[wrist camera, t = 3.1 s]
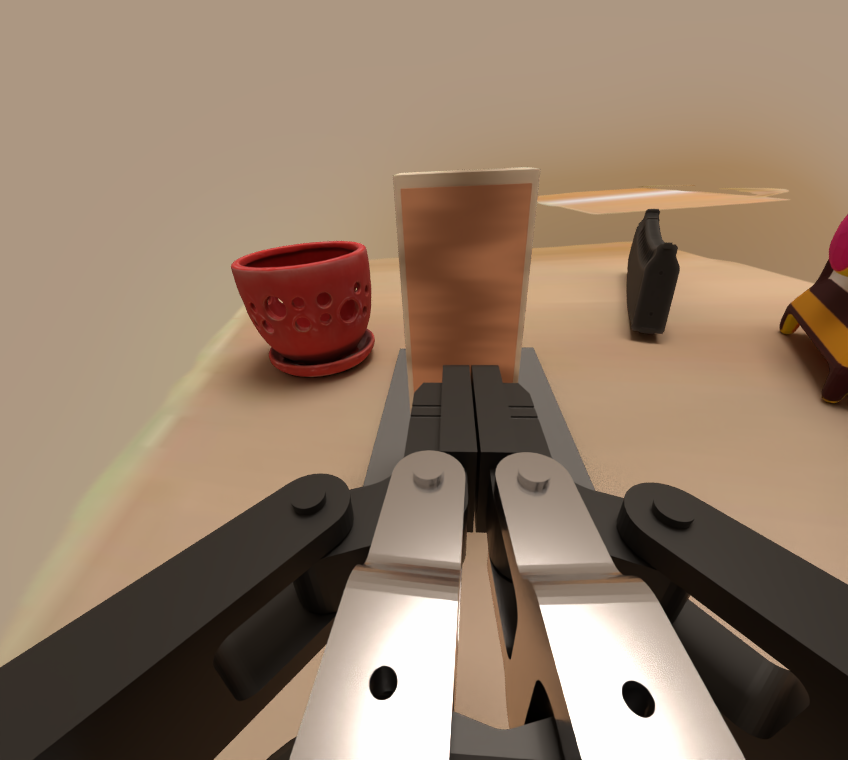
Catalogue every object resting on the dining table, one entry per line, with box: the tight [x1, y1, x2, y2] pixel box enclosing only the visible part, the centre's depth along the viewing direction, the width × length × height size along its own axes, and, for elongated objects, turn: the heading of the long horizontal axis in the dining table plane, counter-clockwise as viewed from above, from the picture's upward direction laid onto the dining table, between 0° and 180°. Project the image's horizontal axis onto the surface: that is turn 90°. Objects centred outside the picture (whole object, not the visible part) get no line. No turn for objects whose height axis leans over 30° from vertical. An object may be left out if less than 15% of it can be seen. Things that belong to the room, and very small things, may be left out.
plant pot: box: [231, 241, 375, 377], centre depth 39 cm, size 13×13×12 cm
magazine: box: [627, 209, 680, 334], centre depth 51 cm, size 17×3×30 cm
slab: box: [393, 167, 540, 414], centre depth 21 cm, size 6×3×18 cm, turn 86°
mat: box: [363, 348, 595, 491], centre depth 32 cm, size 15×22×1 cm
